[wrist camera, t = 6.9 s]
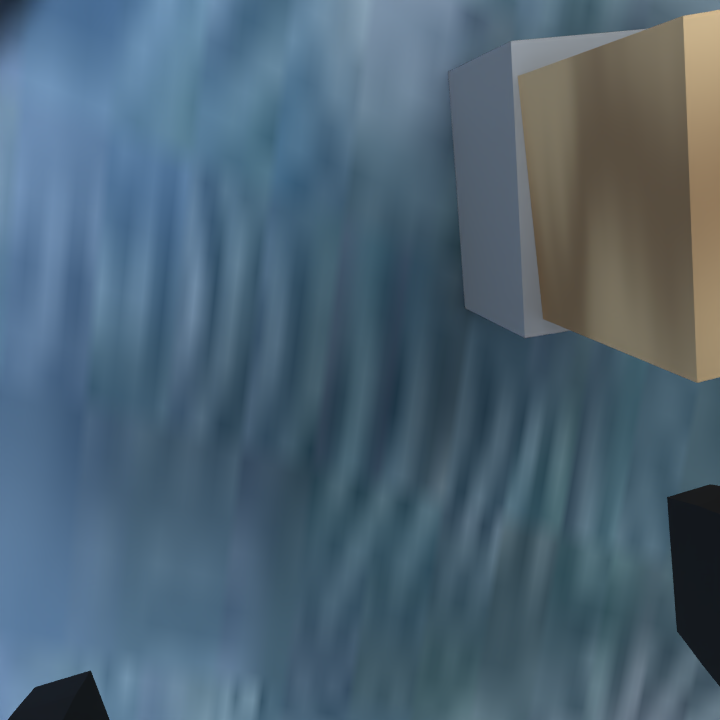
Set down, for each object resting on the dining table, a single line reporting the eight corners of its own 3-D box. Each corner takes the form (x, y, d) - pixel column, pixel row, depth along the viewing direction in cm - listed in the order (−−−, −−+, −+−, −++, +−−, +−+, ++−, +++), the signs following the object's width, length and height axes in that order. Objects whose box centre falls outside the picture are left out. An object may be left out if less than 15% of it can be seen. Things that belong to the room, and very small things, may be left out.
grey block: (658, 276, 20) (765, 298, 16) (462, 306, 19) (524, 338, 15) (660, 52, 18) (779, 17, 14) (445, 73, 17) (510, 40, 13)
